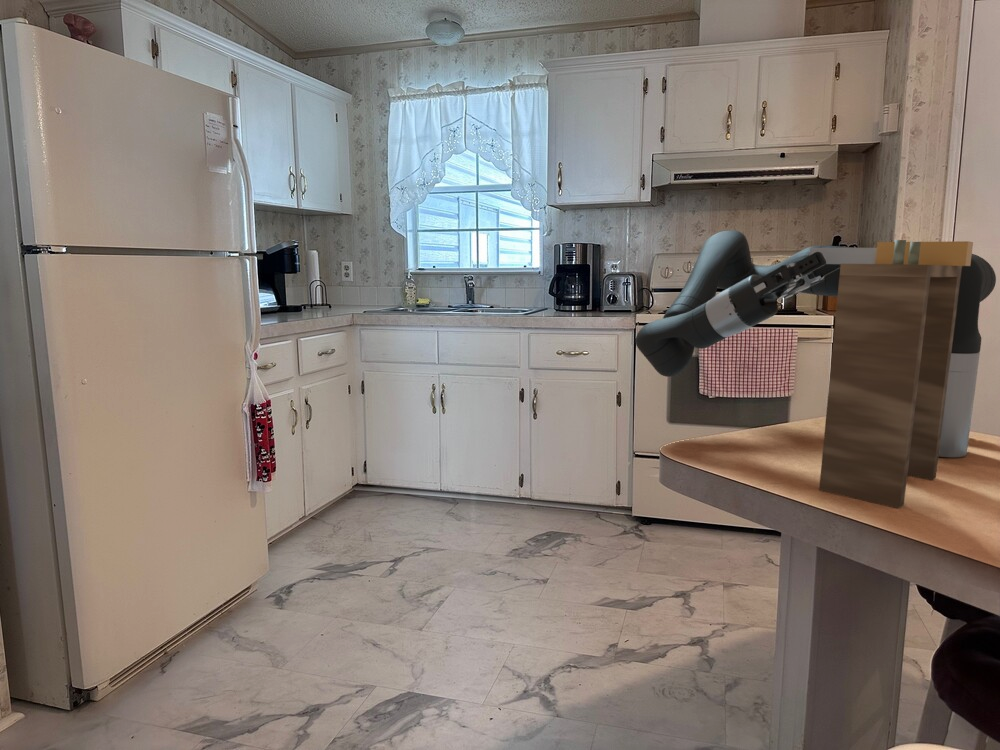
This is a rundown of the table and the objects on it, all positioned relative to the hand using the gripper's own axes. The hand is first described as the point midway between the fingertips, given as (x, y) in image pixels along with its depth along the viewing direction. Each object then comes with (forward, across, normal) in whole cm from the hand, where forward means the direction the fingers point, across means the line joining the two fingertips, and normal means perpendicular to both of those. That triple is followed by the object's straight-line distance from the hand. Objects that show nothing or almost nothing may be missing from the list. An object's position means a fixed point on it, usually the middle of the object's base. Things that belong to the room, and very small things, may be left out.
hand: (833, 257), depth 105 cm
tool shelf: (-7, +4, -33) cm, 34 cm away
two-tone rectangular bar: (+6, 0, -4) cm, 7 cm away
